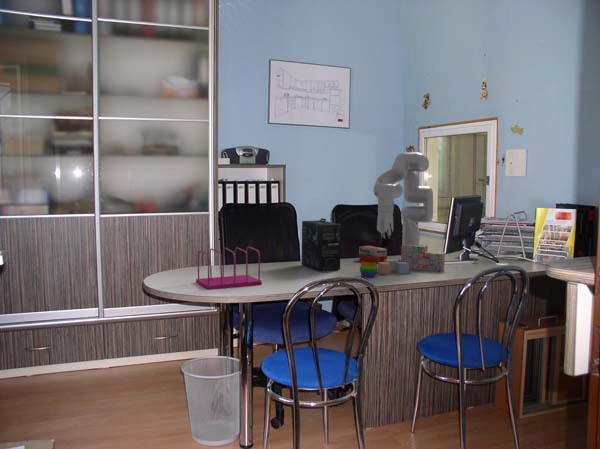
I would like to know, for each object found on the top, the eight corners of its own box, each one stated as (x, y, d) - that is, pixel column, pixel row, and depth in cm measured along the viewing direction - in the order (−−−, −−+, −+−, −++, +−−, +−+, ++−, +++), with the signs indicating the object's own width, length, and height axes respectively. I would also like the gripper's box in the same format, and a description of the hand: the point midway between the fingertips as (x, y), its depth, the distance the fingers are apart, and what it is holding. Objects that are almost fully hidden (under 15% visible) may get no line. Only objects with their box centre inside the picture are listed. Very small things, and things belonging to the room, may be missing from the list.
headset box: (341, 270, 276) (341, 219, 274) (320, 272, 271) (320, 220, 268) (320, 263, 296) (320, 216, 294) (300, 265, 291) (300, 217, 288)
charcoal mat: (367, 270, 277) (367, 269, 277) (397, 268, 281) (397, 268, 281) (378, 275, 261) (378, 274, 261) (411, 274, 265) (411, 273, 265)
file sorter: (262, 285, 238) (262, 249, 237) (206, 290, 227) (206, 253, 226) (247, 278, 254) (247, 245, 252) (195, 282, 243) (195, 248, 241)
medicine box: (387, 262, 302) (387, 248, 301) (376, 264, 297) (376, 249, 297) (368, 259, 314) (369, 245, 314) (358, 260, 310) (358, 246, 309)
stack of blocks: (444, 270, 278) (445, 246, 277) (441, 272, 273) (441, 248, 272) (404, 266, 289) (405, 243, 288) (400, 268, 283) (401, 245, 282)
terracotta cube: (377, 272, 268) (377, 262, 268) (387, 271, 269) (387, 262, 269) (381, 274, 263) (381, 264, 263) (391, 273, 264) (391, 263, 264)
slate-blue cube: (395, 272, 269) (395, 262, 269) (404, 271, 270) (404, 261, 270) (399, 273, 264) (399, 263, 264) (409, 273, 266) (409, 263, 265)
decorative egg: (358, 278, 254) (358, 257, 253) (361, 275, 262) (361, 255, 261) (376, 279, 252) (376, 258, 251) (378, 276, 260) (378, 255, 259)
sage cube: (384, 269, 277) (384, 259, 277) (393, 268, 279) (393, 259, 278) (388, 270, 273) (388, 261, 272) (397, 270, 274) (397, 260, 273)
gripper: (372, 208, 270) (372, 244, 272) (384, 210, 255) (384, 249, 257) (386, 207, 272) (386, 243, 274) (399, 210, 257) (398, 248, 259)
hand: (385, 246), depth 266 cm, fingers closed
